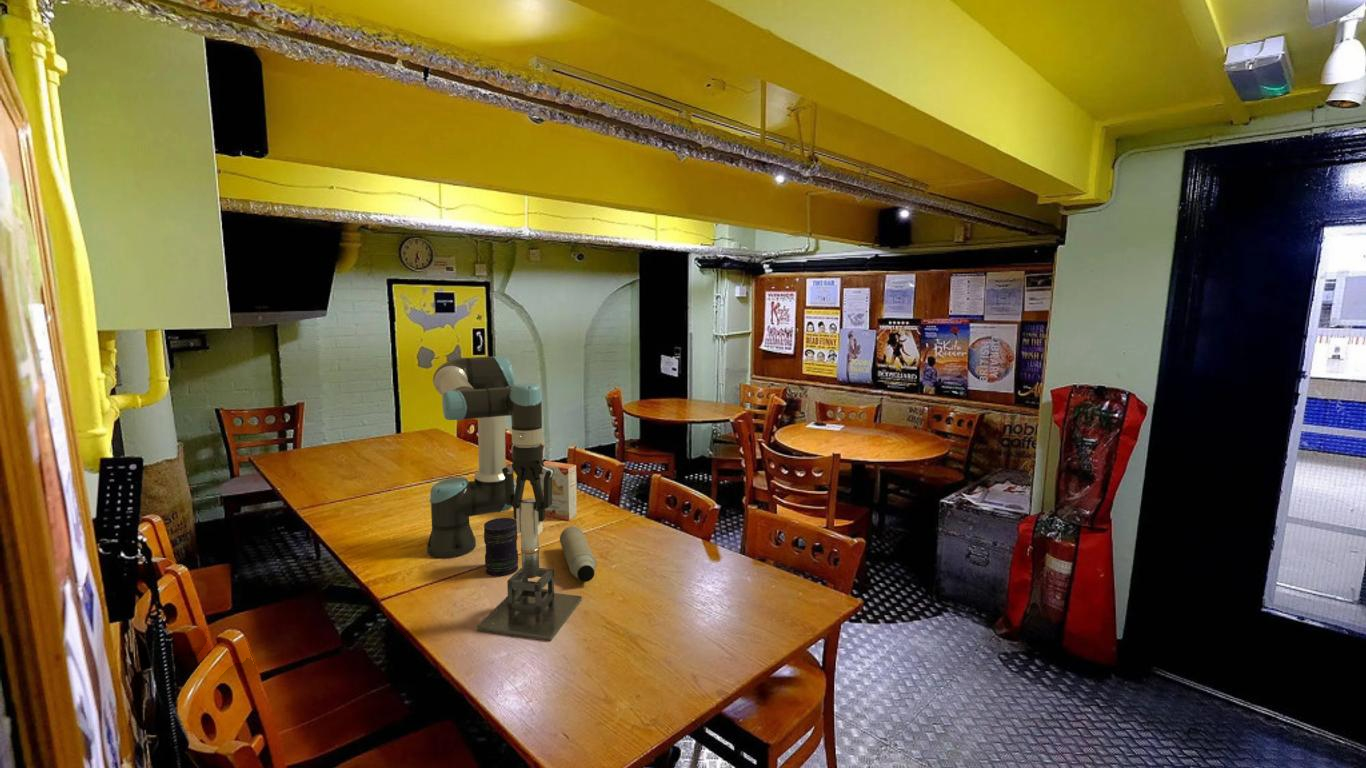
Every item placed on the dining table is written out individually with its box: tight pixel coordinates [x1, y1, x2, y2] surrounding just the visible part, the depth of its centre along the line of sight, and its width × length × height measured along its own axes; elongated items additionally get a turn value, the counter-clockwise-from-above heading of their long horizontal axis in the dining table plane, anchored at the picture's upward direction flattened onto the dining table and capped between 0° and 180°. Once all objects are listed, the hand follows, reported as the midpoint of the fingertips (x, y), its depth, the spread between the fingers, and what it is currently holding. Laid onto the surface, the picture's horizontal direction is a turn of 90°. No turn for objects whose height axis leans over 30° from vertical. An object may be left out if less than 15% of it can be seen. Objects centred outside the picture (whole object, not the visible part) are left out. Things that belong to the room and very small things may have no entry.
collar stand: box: [476, 567, 583, 642], centre depth 151 cm, size 20×20×11 cm
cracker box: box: [540, 460, 578, 521], centre depth 221 cm, size 14×6×21 cm, turn 68°
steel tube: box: [520, 497, 540, 579], centre depth 149 cm, size 5×5×20 cm
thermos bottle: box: [559, 525, 597, 583], centre depth 180 cm, size 8×8×28 cm
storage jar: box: [483, 517, 519, 578], centre depth 177 cm, size 10×10×15 cm
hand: (529, 531), depth 149 cm, fingers closed on steel tube, 4 cm apart
